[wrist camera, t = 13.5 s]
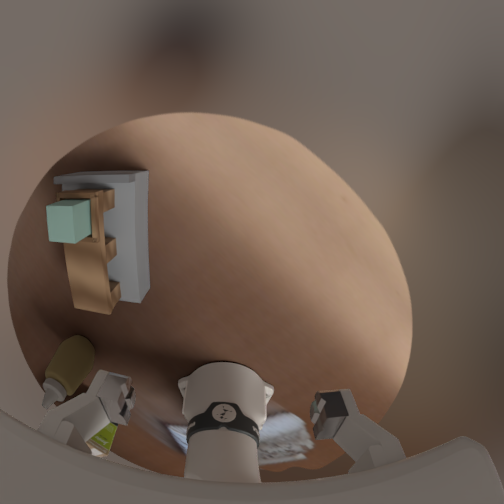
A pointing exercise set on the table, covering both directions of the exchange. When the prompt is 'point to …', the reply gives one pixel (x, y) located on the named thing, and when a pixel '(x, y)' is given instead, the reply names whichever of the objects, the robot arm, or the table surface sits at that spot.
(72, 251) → the pallet
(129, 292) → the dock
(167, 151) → the table surface
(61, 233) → the mint green cube
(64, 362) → the squeeze bottle
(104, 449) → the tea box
